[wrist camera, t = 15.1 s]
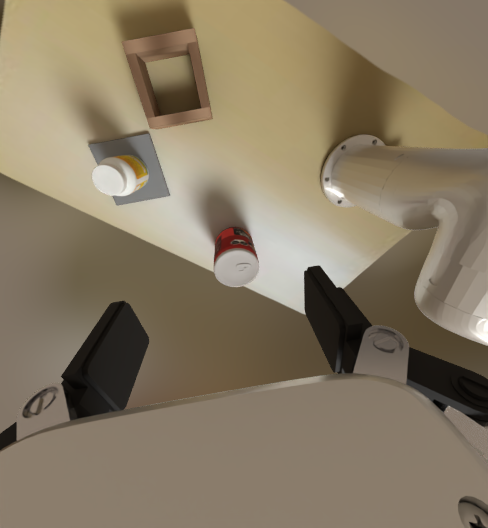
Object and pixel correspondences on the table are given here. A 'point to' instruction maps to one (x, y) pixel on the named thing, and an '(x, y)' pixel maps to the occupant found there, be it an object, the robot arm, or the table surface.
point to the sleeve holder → (163, 49)
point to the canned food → (235, 258)
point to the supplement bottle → (120, 175)
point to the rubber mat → (146, 153)
